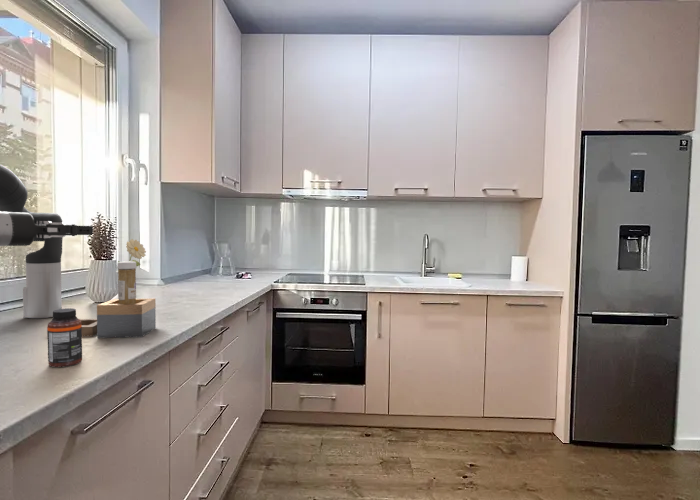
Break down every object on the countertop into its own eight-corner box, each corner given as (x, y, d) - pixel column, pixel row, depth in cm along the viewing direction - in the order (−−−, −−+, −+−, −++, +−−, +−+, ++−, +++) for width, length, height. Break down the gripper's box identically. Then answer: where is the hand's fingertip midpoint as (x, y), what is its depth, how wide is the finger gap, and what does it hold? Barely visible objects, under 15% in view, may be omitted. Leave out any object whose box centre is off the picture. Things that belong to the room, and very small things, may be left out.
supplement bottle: (58, 359, 92) (58, 307, 91) (88, 359, 92) (87, 307, 92) (41, 368, 86) (40, 312, 85) (72, 368, 86) (71, 312, 86)
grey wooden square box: (97, 337, 111) (96, 305, 110) (114, 328, 122) (114, 298, 121) (142, 337, 112) (141, 304, 112) (155, 327, 123) (155, 298, 123)
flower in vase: (114, 313, 143) (113, 239, 142) (100, 309, 150) (99, 238, 149) (152, 308, 153) (152, 239, 152) (137, 305, 160) (137, 238, 160)
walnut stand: (47, 336, 111) (47, 327, 111) (69, 327, 122) (69, 319, 122) (92, 336, 112) (92, 326, 112) (110, 327, 123) (110, 318, 123)
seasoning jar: (137, 311, 116) (137, 261, 115) (118, 312, 113) (118, 262, 113) (135, 308, 120) (135, 260, 119) (116, 310, 117) (116, 261, 117)
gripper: (16, 211, 89) (98, 215, 103) (-8, 211, 98) (70, 215, 111) (16, 247, 90) (98, 246, 103) (-8, 244, 98) (70, 244, 111)
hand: (83, 230), depth 107 cm, fingers open, 8 cm apart
